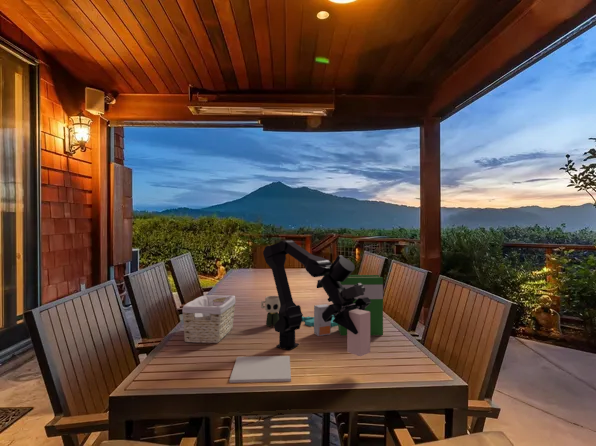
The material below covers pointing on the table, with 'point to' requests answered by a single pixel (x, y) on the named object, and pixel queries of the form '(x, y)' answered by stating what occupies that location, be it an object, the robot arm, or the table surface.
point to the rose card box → (359, 333)
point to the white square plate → (261, 369)
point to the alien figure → (310, 321)
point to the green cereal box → (375, 295)
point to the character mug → (271, 309)
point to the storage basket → (208, 318)
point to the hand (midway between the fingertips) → (362, 331)
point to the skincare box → (321, 321)
